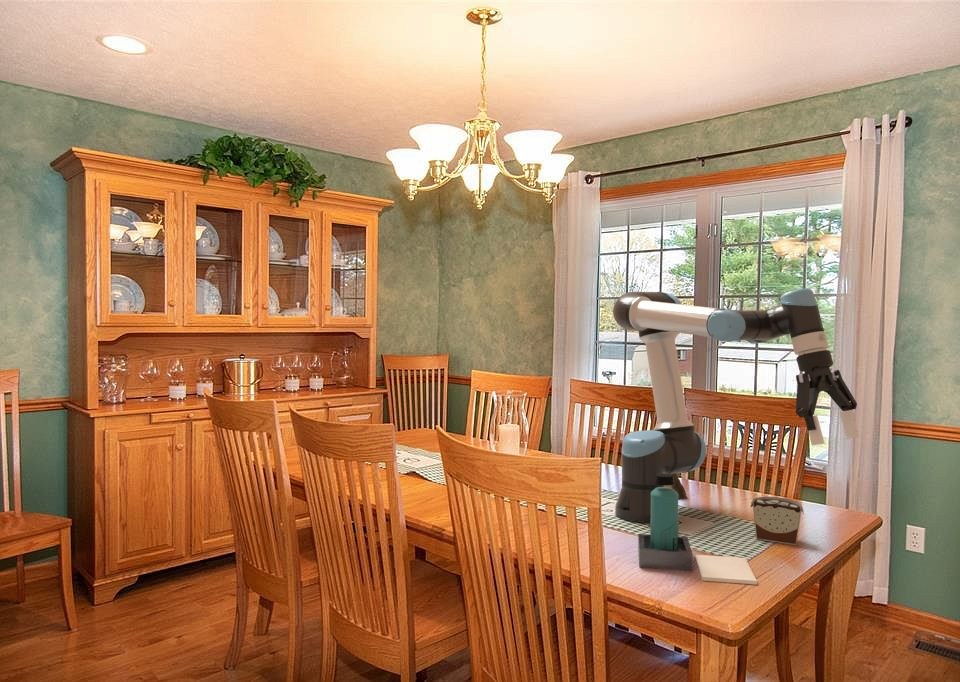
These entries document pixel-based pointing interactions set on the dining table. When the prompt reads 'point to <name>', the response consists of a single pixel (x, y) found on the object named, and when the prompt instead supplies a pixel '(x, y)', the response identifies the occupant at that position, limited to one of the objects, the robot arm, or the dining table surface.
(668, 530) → the beverage bottle
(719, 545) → the dining table surface
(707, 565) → the coaster pad
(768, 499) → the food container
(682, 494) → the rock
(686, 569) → the bottle holder
